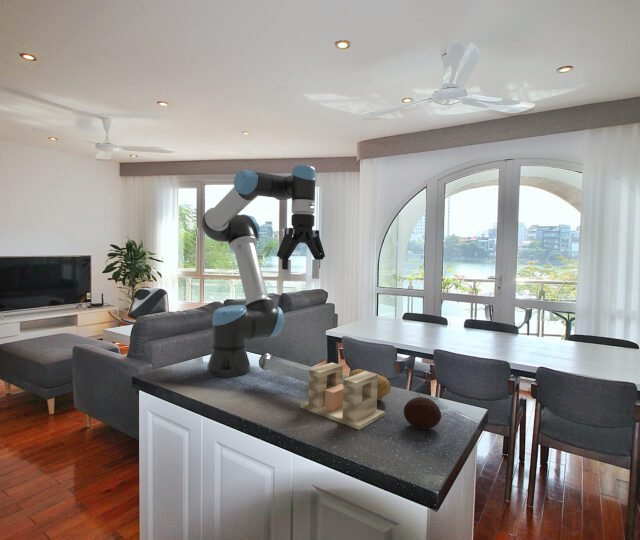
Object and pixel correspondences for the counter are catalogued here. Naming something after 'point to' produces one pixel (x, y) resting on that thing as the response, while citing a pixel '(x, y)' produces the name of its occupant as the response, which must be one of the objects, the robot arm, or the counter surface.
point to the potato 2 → (422, 413)
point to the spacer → (334, 397)
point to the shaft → (286, 367)
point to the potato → (382, 385)
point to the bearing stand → (344, 396)
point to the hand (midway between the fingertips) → (301, 279)
